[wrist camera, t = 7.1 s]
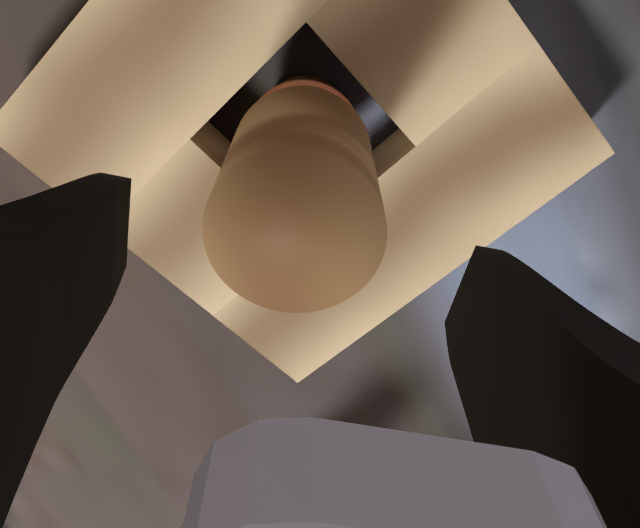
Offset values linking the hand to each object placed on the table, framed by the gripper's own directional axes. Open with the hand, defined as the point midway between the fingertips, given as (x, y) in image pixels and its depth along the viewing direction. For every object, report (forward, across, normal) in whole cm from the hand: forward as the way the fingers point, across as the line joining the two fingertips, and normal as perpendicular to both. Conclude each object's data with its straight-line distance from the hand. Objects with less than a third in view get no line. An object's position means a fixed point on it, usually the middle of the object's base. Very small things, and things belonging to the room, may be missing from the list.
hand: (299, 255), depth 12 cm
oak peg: (+10, 0, 0) cm, 10 cm away
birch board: (+10, 0, 0) cm, 10 cm away
